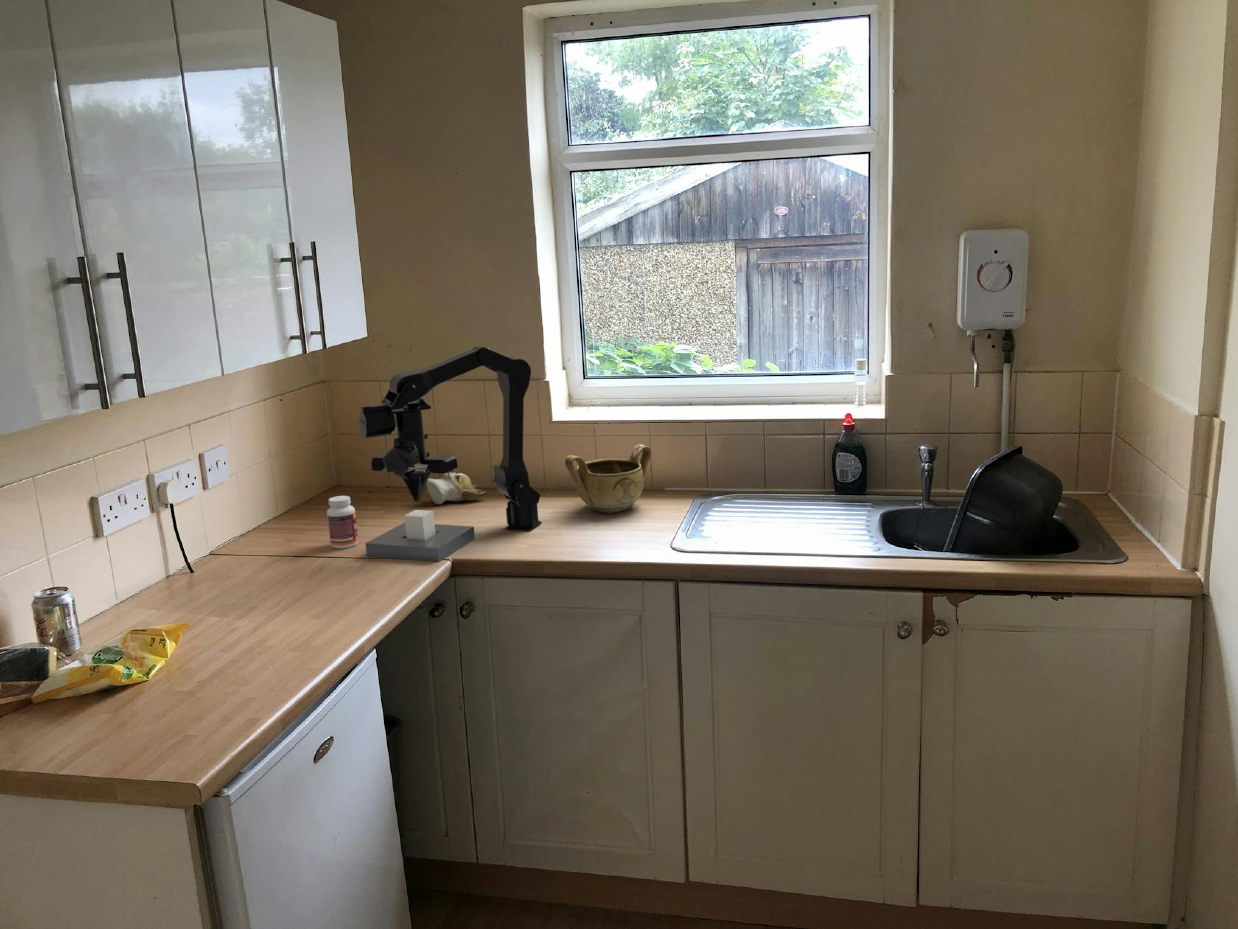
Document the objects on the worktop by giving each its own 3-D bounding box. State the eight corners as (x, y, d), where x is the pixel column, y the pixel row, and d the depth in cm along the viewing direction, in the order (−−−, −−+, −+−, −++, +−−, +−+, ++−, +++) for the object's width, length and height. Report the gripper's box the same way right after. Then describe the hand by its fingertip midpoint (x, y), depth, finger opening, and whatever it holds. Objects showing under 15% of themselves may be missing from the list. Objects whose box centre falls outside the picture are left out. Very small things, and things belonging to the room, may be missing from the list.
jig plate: (475, 539, 225) (473, 526, 225) (438, 562, 211) (437, 548, 210) (406, 534, 232) (405, 522, 231) (366, 556, 217) (365, 543, 216)
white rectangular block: (436, 545, 223) (433, 510, 221) (425, 551, 218) (422, 516, 217) (418, 544, 224) (415, 509, 222) (407, 550, 220) (404, 515, 218)
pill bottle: (362, 545, 225) (357, 498, 223) (335, 551, 222) (330, 503, 219) (353, 539, 230) (348, 493, 228) (327, 544, 227) (321, 498, 224)
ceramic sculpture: (420, 468, 259) (475, 463, 265) (421, 500, 261) (475, 494, 267) (432, 476, 249) (488, 471, 256) (433, 510, 251) (489, 503, 258)
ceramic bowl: (587, 525, 231) (583, 462, 228) (554, 509, 246) (550, 450, 242) (667, 508, 242) (665, 448, 239) (632, 494, 257) (629, 437, 253)
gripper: (352, 438, 211) (360, 509, 215) (428, 440, 205) (435, 513, 208) (381, 427, 221) (389, 495, 225) (455, 429, 215) (461, 499, 218)
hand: (417, 501), depth 219 cm, fingers closed
